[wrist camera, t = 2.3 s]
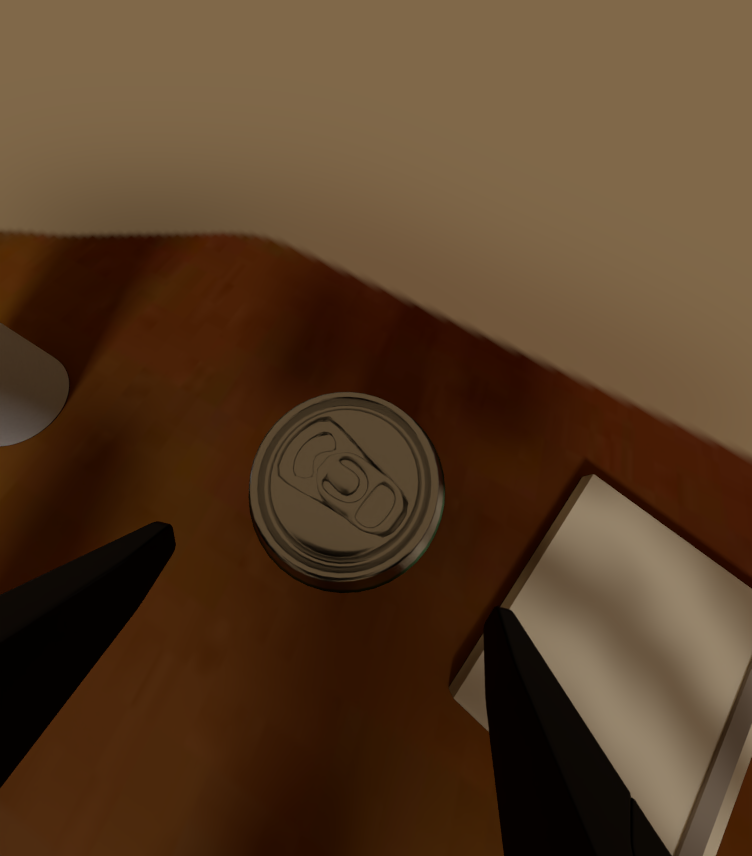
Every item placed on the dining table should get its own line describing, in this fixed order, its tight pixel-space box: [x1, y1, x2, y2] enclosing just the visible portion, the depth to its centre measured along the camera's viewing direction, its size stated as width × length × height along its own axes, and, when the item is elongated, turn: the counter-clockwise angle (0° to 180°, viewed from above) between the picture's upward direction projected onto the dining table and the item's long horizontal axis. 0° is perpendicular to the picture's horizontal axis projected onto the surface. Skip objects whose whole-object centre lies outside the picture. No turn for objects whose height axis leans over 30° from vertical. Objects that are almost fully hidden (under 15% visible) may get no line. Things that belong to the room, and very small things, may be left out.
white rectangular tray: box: [449, 474, 752, 856], centre depth 16 cm, size 14×12×1 cm
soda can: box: [249, 392, 445, 593], centre depth 13 cm, size 5×5×12 cm
